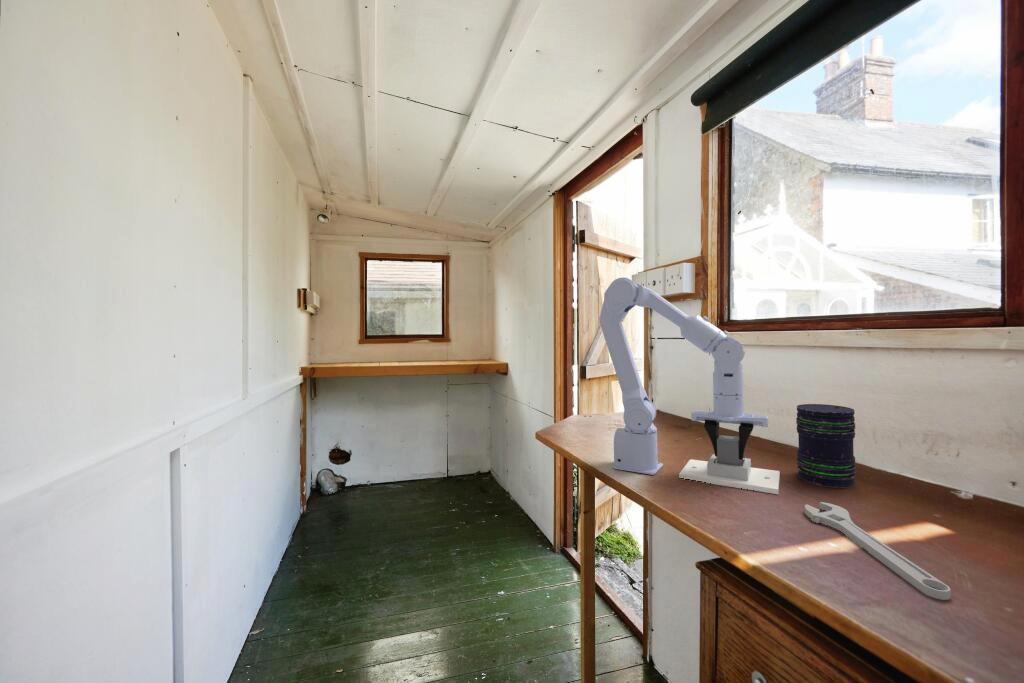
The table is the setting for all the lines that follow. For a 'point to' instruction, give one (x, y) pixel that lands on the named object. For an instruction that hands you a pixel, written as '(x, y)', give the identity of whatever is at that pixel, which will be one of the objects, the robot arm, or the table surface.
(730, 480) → the outlet plate
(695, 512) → the table surface
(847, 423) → the dark blue barrel
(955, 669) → the table surface
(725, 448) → the block
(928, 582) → the adjustable wrench
